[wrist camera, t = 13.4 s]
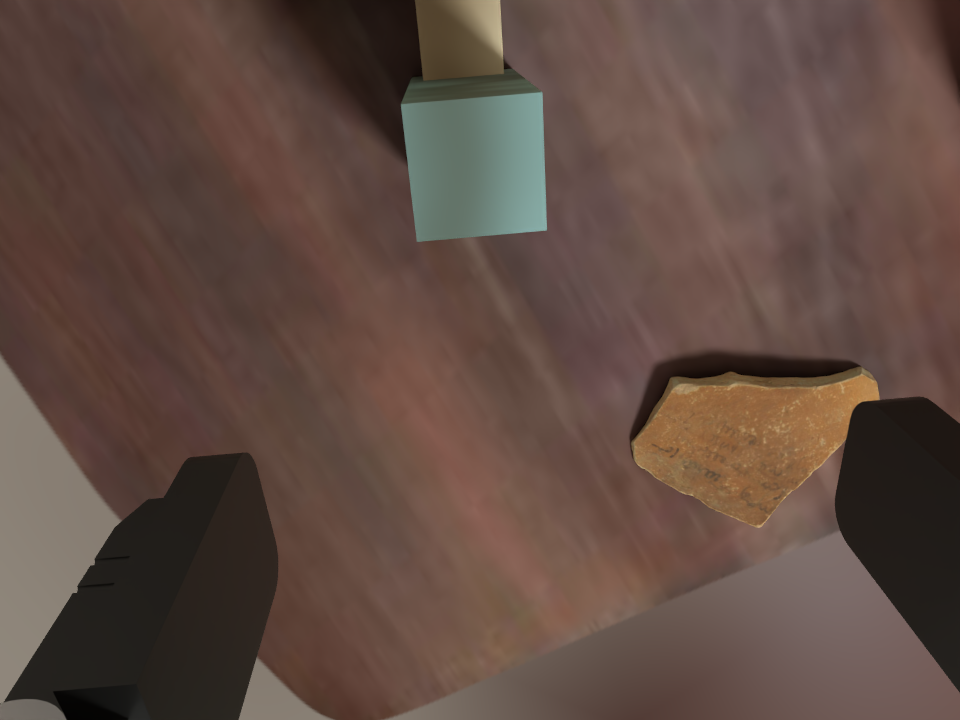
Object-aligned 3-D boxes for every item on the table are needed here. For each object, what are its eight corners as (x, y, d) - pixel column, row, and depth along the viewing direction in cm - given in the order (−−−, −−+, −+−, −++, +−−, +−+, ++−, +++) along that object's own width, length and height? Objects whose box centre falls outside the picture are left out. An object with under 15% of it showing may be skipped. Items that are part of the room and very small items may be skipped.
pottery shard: (879, 371, 36) (909, 395, 33) (785, 512, 39) (806, 542, 37) (696, 309, 34) (715, 330, 31) (615, 464, 37) (627, 493, 35)
